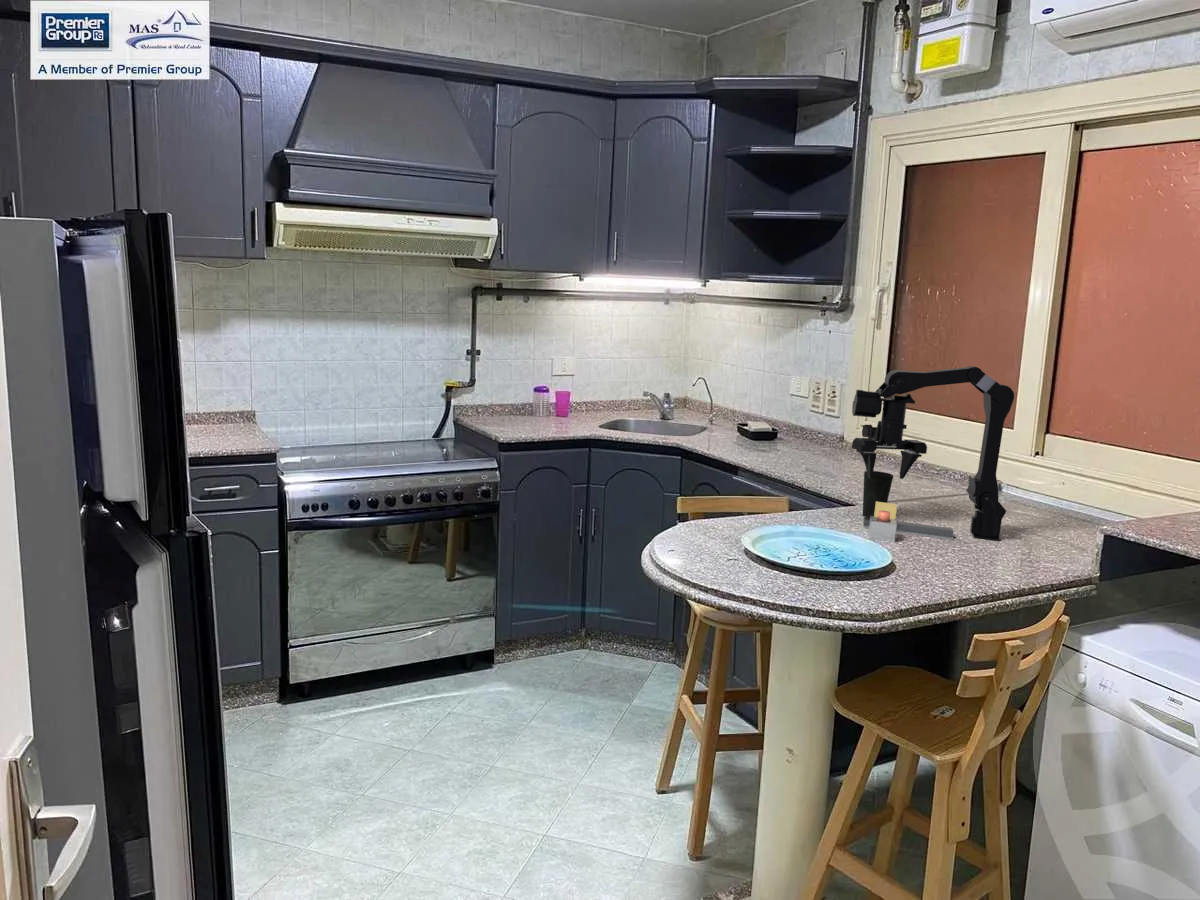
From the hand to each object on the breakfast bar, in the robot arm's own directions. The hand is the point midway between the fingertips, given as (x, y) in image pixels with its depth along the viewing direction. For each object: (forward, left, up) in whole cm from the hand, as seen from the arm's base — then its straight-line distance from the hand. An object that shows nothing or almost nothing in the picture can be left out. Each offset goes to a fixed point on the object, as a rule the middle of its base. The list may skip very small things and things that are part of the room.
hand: (885, 478), depth 245 cm
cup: (+1, -10, -13) cm, 17 cm away
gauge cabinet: (0, +14, -13) cm, 19 cm away
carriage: (-1, +3, -13) cm, 13 cm away
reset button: (0, +14, -8) cm, 16 cm away
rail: (-7, +3, -13) cm, 15 cm away
